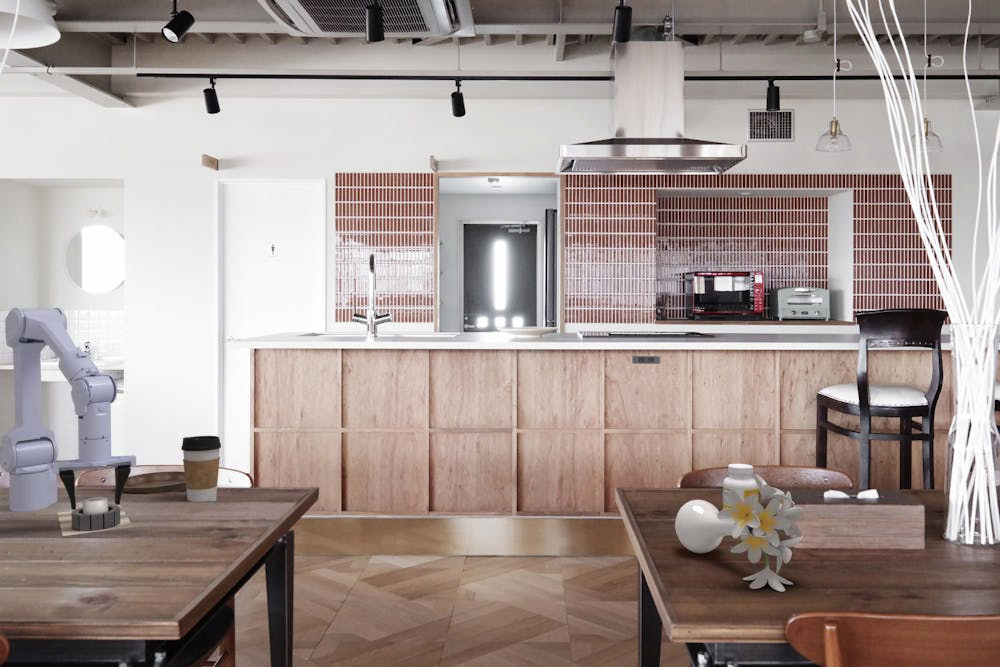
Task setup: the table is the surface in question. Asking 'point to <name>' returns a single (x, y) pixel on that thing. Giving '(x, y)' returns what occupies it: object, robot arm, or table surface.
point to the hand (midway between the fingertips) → (95, 506)
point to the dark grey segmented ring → (95, 519)
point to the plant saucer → (156, 482)
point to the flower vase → (744, 529)
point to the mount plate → (66, 529)
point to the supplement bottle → (739, 483)
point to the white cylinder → (95, 505)
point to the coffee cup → (201, 467)
